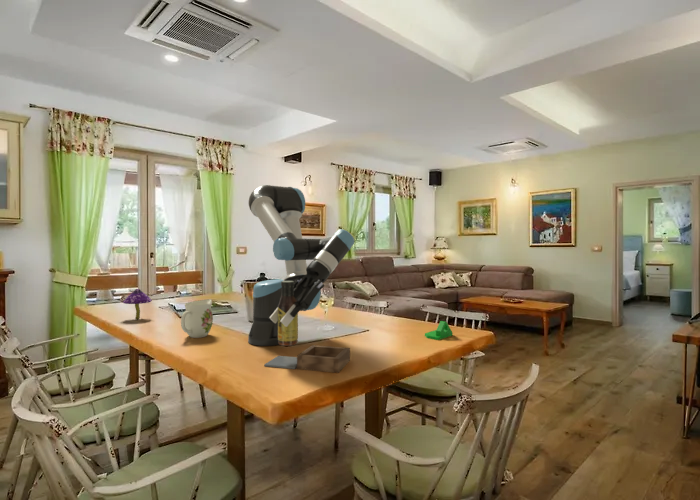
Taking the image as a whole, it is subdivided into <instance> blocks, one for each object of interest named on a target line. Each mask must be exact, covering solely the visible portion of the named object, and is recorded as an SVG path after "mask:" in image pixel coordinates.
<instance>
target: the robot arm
mask: <svg viewBox="0 0 700 500" xmlns="http://www.w3.org/2000/svg"><path fill="white" fill-rule="evenodd" d="M248 207H249V211H250V212H251V213H252V214H253V216H254V217H256V218H258V219H259V221H260V223H261V225H262V226H263V227H264V229H265V230H266V232H267V233H268V235H269V237H270V238H271V240H272V241H273V245H272V252H273V257H274V258H275V259H276V260H278V261H284V265H285V271H286V277H284V279H282V278H280V279H279V278H276V279H268V280H262V281H259V282H257V283H255V284H254V285H253V292H252V320H253V321H252V323H251V327H250V330H249V332H248V335H247V338H248V340H247V342H248V344H250V345H254V346H258V347H259V346H263V347H268V346H278V345H279V346H280V344H279V343H278V304H279V301H280V298H281V294H282V286H281V282H282V281H294V297H295V299H296V300H297V302H294V304H295V305H296V306H295V305H294V304H293V305H292V307H291V308H290V309H289V310H288V312H287V313H286V314H285V315H284V317H283V318H282V319H281V320H280V322H281V323H282V324H283V325H284V326H285V327H287V326H288V325H289V324H290V322H291V321H292V320H293V318H294V317H295V316H296V315H297V313H298V314H299V312H306V311H311V310H314V309H316V307H318V305H319V303H320V300H321V290H322V289H323V288H324V287H325V285H324V283H326V281H327V280H328V278H329V277H330V276H331V274H332V273H333V271H335V269H336V268H337V266H338V265H339V263H341V261H342V260H343V259H344V258H345V256H346V255H347V254H348V253H349V251H351V249H352V248H353V245H354V244H355V238H354V237H353V235H352V234H351V233H350V232H349V231H348V230H346V229H344V228H339V229H337V230H336V232H334V233H333V235H332V236H330V237H326V238H303V235H302V228H301V223H300V219H301V218H302V217H303V214H304V213H305V210H306V197H305V195H304V193H303V192H302V190H301V189H299V188H298V187H297V188H296V187H293V186H278V185H270V184H265V185H263V184H262V185H260V186H258V187H257V188H255V189H254V190H253V191H252V192H251V193H250V195H249V198H248ZM307 261H311V262H310V263H309V264H307Z"/></svg>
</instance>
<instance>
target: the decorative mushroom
mask: <svg viewBox="0 0 700 500" xmlns="http://www.w3.org/2000/svg"><path fill="white" fill-rule="evenodd" d="M122 303H123V304H126V305H134V307H135V311H136V312H135V318H134V319H135V320H140V316H141V310H140V304H149V303H152V299H151V298H150V297H149V295H147V294H146V293H145V292H143V291H142V290H141V289H140V288H135V289H134V290H133V291H132V292H131V293H130V294H129V295H127V297H126V298H125V299H124V300H123V302H122Z"/></svg>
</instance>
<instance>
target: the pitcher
mask: <svg viewBox="0 0 700 500" xmlns="http://www.w3.org/2000/svg"><path fill="white" fill-rule="evenodd" d="M212 300H213V299H210V298H209V299H202V300H195V301H190V302H186V303H184V307H185V311H184V312H183V313H182V315H181V317H180V326H181V329H182V331H183V332H184V333H186V334H187V335H188V336H189V338H193V339H194V338H195V339H198V338H199V339H200V338H205V337H208V335H209V333H210V332H211V329H212V327H213V321H214V314H213V311H212V304H213V301H212Z"/></svg>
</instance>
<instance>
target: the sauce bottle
mask: <svg viewBox="0 0 700 500" xmlns="http://www.w3.org/2000/svg"><path fill="white" fill-rule="evenodd" d="M281 286H282V294H281V298H280V301H279V304H278V343H279V346H282V347H283V346H284V347H289V346H290V347H291V346H295V345H297V344H298V342H299V341H298V339H299V312H298V313H297V315H296V316H295V317H294V318H293V320H292V321H291V322H290V324H289V325H288V326H287V327H285V326H284V325H283V324H282V323H281V322H280V320H281V319H282V318H283V317H284V315H285V314H286V313H287V312H288V310H289V309H290V308H291V307H292V305H293V304H294V302H297V300H296V299H295V297H294V281H282V282H281ZM294 305H295V304H294ZM295 306H296V305H295Z"/></svg>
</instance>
